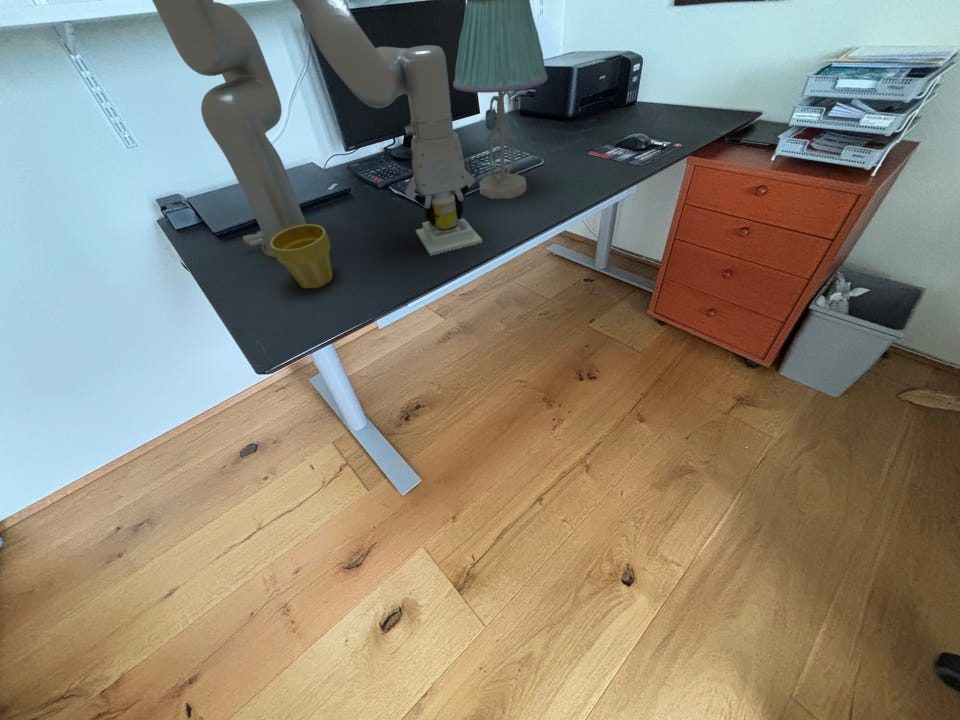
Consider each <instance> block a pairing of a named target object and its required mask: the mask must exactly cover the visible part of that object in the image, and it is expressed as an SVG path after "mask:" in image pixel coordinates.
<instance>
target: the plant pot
mask: <svg viewBox="0 0 960 720" xmlns="http://www.w3.org/2000/svg"><path fill="white" fill-rule="evenodd" d="M270 246H271V248H272V250H273V252H274V254H275V256H276V258H275V259H277V261H278V262H279V263H280V264H282V265H284V266H285V267H286V269H287V270H288V271H289V273H290V274H291V275H292V276H293V277H294V279H295V281H297V283H298V284H299V286H300V287H301V288H304V289H307V288H309V290H311V289H310V288H313V289H317V288H321V287H324V286H325V284H326V285H327V284H328V283H330V282H331V281H332V279H333V277H334V276H333V275H334V274H333V268H332V263H331V262H332V261H331V256H330V250H331V247H332V246H331V242H330V238H329V236H328V233H327V231H326V229H325V228H324V227H323V226H321V225H319V224H312V223H306V224H304V225H298V226H294V227H291V228H288V229H285V230H283V231H281V232H279V233H278V234H276V235H275V236H274V237H273V238H272V239H271V241H270ZM323 285H324V286H323Z"/></svg>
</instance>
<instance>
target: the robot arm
mask: <svg viewBox="0 0 960 720" xmlns="http://www.w3.org/2000/svg"><path fill="white" fill-rule="evenodd" d="M151 1H152V3H153V4H154V7H155V9H156V11H157V14H158V15H159V16H160V19H161V21H162V23H163V24H164V27H165V29H166V30H167V33H168V35H169V37H170V40H171V41H172V43H173V45H174V47H175V49H176V51H177V52H178V54H179V56H180V57H181V59H182V60H183V62H184V64H186V65H187V66H188V67H189V68H190V69H191V70H192V71H194V72H195V73H197V74H199V75H200V76H201V75H202V76H207V77H216V76H220V75H222V77H223V79H224V81H225V82H223V83H220V84H218V85H216V86H214V87H212V88H210V89H209V90H208V91H207V92H206V93H205V94H204V96H203V98H202V101H201V104H200V105H201V106H200V109H201V117H202V120H203V123H204V125H205V128H207V131H208V132H209V133H210V135H211V137H212V138H213V139H214V142H216V143H217V145H218V147H219V148H220V150H221V151H222V153H223V154H224V157H225V158H226V160H227V162H228V163H229V165H230V166H229V167H231V170H232V172H233V174H234V175H235V178H236V180H237V183H238V184H239V186H240V188H241V190H242V192H243V194H244V196H245V198H246V201H247V203H248V205H249V207H250V209H251V211H252V213H253V215H254V218H255V219H256V222H257V224H258V226H259V228H260V230H259V231H256V233H254V234H247V235H243V236H242V239H243V241H244V243H245V245H246V246H247V245H249V246H250V247H251V248H252V247H257V246H260V245H261V249H262V252H263V253H264V254H265V255H266V256H268V257H270V258H275V259H277V258H276V256H275V254H274V252H273V250H272V248H271V246H270V241H271V239H272V238H273V237H274V236H275V235H276V234H278V233H279V232H281V231H283V230H285V229H288V228H291V227H294V226H298V225H304V224H307V222H306V219H305V217H304V215H303V212H302V210H301V207H300V204H299V202H298V198H297V196H296V194H295V191H294V189H293V185H292V183H291V181H290V178H289V176H288V172H287V170H286V168H285V165H284V164H283V161H282V158H281V156H280V155H279V153H278V151H277V150H276V148H275V147H274V145H273V143H272V142H271V141H270V139H269V138H268V137H267V135H266V133H267V132H268V131H269V132H270V130H271V129H273V128H274V127H276V126H277V124H279V121H280V120H281V117H282V104H281V99H280V96H279V93H278V90H277V87H276V86H275V82H274V79H273V78H272V74H271V72H270V69H269V66H268V64H267V61H266V59H265V56H264V54H263V51H262V49H261V46H260V43H259V40H258V39H257V37H256V34H255V33H254V30H253V29H252V27H251V26H250V24H249V23H248V21H247V20H246V18H245V17H243V16H242V15H241V14H240V13H239V12H238V11H237V10H236V9H235V8H233V7H231V6H229V5H228V4H226V3H222V2H217V1H214V0H151ZM346 1H347V0H291V2H293V4H294V5H295V7H296V8H297V9H298V11H299V13H300V15H301V17H302V20H303V22H304V23H305V26H306V28H307V29H308V31H309V32H310V34H311V36H312V38H313V40H314V43H315V44H316V46H317V47H318V49H319V51H320V52H321V54H322V56H323V57H324V59H325V60H326V61H327V63H328V64H329V65H330V66H331V68H332V69H333V70H334V72H335V73H336V74H337V75H338V77H339V78H340V79H341V80H342V82H344V84H345V85H346V86H347V88H348V89H349V90H350V91H351V92H352V94H353V95H355V96H356V98H357V99H359V101H361V102H362V103H364V104H365V105H367V106H368V107H371V108H374V109H382V108H383V109H384V108H386V107H388V106H390V105H391V104H392V103H393V102H394V101H395V100H396V99H397V98H398V97H400V96H402V95H405V94H406V95H407V98H408V99H407V100H408V105H409V112H410V124H408V125H406V126H405V127H404V129H405V133H406V135H413V137H412V138H411V148H410V149H411V164H412V165H411V166H412V174H413V176H412V178H411V179H410V181H409V183H408V185H407V186H406V189H405V190H404V193H405V195H406V196H407V197H408V198H411V199H412V200H414V201H415V202H417V203H418V204H420V205H421V206H423V210H424V216H425V220H426V222H428V221H429V222H430V224H431V225H432V226H435V218H434V212H433V208H432V206H431V204H430V203H431V197H432V195H435V194H440V193H445V192H449V191H451V192H453V193H454V195H455V203H456V211H457V218H458V219H459V220H460V219H462V218H463V217H462V215H463V214H464V210H463V209H464V207H463V200H464V198H465V196H466V194H467V193H468V192H469V190H470V189H469V188H471V187H472V185H474V183H475V181H476V178H475V177H474V176H473V175H472V174H471V172H469V171H468V170H467V169H466V166H465V159H464V154H463V150H462V144H461V141H460V137H459V134H458V133H457V132H455V131H454V127H453V126H454V125H453V116H452V106H451V97H450V88H449V87H450V86H449V77H448V68H447V67H448V66H447V58H446V54H445V51H444V49H443V48H442V47H441V46H439V45H432V44H430V45H427V44H426V45H425V44H424V45H418V46H417V45H416V46H413V47H412V46H411V47H409V48H407V47H393V46H378V47H376V46H374V44H373V43H372V42H371V41H370V39H369V38H368V36H367V35H366V33H365V32H364V31H363V29H362V28H361V26H360V25H359V23H358V22H357V21H356V18H355V17H354V15H353V14H352V12H351V9H350V8H349V6H348V3H347V2H346ZM416 189H417V190H418V192H419V193H416V192H415V191H416ZM420 194H421V195H420Z"/></svg>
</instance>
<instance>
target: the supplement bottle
mask: <svg viewBox="0 0 960 720" xmlns="http://www.w3.org/2000/svg"><path fill="white" fill-rule="evenodd" d="M430 204H431V206H432V208H433V212H434V218H435V226H434V229H435V230H436V231H437V232H440V233H449V232H452V231H454V230H456V229H457V227H458V220H457V211H456V203H455V195H454V193H453V191H449V192H445V193H440V194H435V195H432V197H431V203H430Z"/></svg>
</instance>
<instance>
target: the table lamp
mask: <svg viewBox="0 0 960 720" xmlns="http://www.w3.org/2000/svg"><path fill="white" fill-rule="evenodd" d="M530 1H531V0H466V4H465V10H464V17H463V24H462V28H461V32H460V36H459V40H458V50H457V56H456V63H455V69H454V71H455V74H454V79H453V83H452V85H453V88H454V89H455V90H457V91H461V92H467V93H478V94H479V93H480V94H481V93H482V94H483V93H485V94H488V93H489V94H490V93H491V94H492V93H497V95H494V96H492V97H491V99H490V101H489V102H490V105H489V109H488V110H486V111H485V127H486V130H487V131H488V132H489V131H490V132H489V135H488V138H487V139H486V141H485V147H486V149H487V152H489V171H490V173H491V175H487V176H485V177H483V179H481V181H479V182H478V183H479V194H480V195H481V196H484V197H486V198H488V199H490V200H502V199H503V200H504V199H505V200H507V199H508V200H511V199H514V198H517V197H519V196H522V195H523V194H524V193H525V192H526V191H527V190H528V187H527V180H526V177H525V176H522V175H521V174H519V173H518V174H517V173H510V171H512V170H514V168H515V166H514V165H515V161H516V160H515V158H514V151H515V145H514V142H515V141H516V139H517V138H518V137H517V136H518V132H519V125H518V123H516V122H515V119H514V118H511V117H509V115H508V114H507V112H506V110H505V101H504V98H505V96H506V95H507V96H508V103H509V105H510V104H511V97H512V94H510V92H512V91H514V92H515V91H520V90H526V89H530V88H533V87H537V86H540V85H542V84H544V83H546V82H547V80H548V78H549V77H548V73H547V71H546V67H545V61H544V60H545V59H544V54H543V49H542V45H541V41H540V37H539V33H538V29H537V26H536V23H535V22H536V21H535V20H534V15H533V11H532V7H531V3H530ZM495 101H496V108H495V107H494V106H493V103H494V102H495ZM509 123H510V124H512V125H514V126H516V134H515V136H514V138H513V132H512V129H511V127H510V124H509ZM504 124H505V126H504ZM505 127H506V129H507V132H508V135H509V137H510V141H509V140H508V141H507V147H508V148H509V150H510V161H509V162H510V163H509V165H508V168H507V171H506V167H505V162H506V161H505V134H504V133H505ZM497 131H498V132H499V153H498V149H497V148H496V150H495V152H493V150H494V145H495V140H496V136H497ZM490 140H491V142H490V149H489V147H488V143H489V141H490ZM498 156H499V157H498ZM497 158H499V159H500V160H499V166H500V167H499V168H500V173H495V169H496V164H497V163H496V162H497V161H496V160H497Z"/></svg>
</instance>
